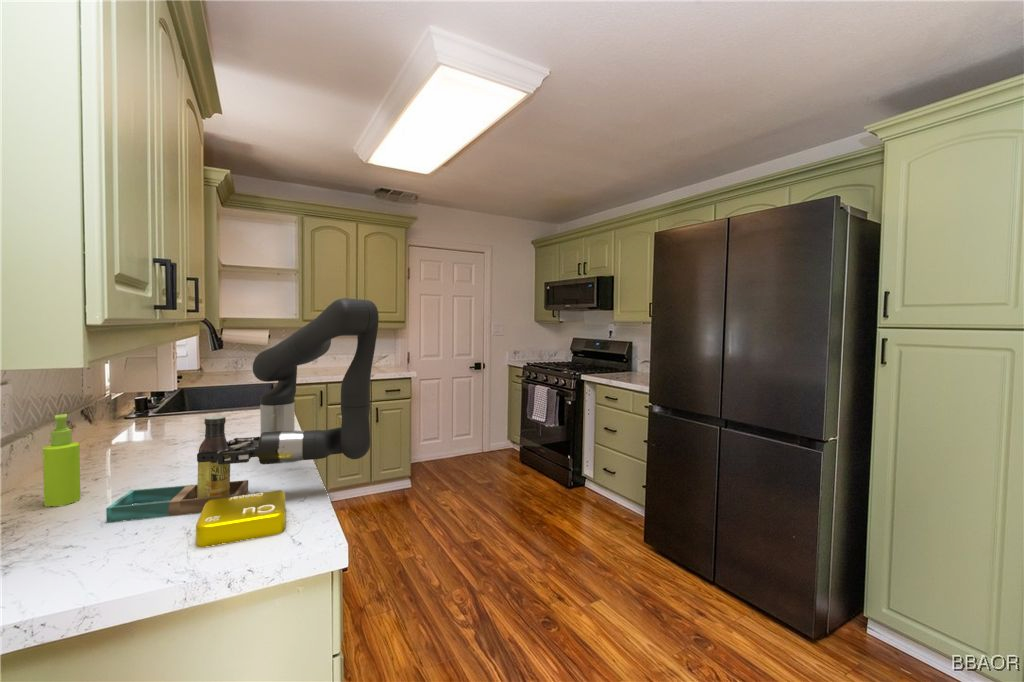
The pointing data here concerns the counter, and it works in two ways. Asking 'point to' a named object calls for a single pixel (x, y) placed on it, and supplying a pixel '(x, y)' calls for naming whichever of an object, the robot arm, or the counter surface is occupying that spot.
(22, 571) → the counter surface
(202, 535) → the element tile
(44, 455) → the soap dispenser
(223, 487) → the sauce bottle
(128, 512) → the twin dock
